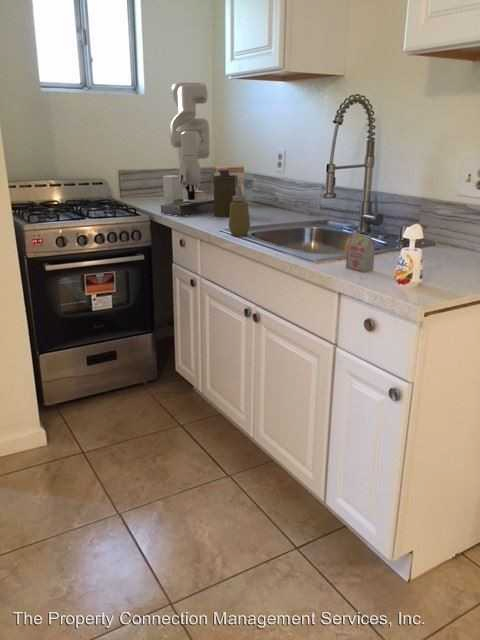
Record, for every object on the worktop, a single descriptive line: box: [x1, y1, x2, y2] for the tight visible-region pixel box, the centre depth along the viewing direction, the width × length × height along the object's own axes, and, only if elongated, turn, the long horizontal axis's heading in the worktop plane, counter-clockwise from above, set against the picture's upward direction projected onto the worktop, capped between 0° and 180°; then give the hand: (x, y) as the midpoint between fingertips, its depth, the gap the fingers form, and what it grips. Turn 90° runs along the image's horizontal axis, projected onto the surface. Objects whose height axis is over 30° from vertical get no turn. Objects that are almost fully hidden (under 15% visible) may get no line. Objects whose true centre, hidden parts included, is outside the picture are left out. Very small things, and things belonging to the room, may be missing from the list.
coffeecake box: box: [213, 165, 245, 196], centre depth 280 cm, size 15×7×20 cm, turn 92°
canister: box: [212, 170, 238, 218], centre depth 247 cm, size 11×10×20 cm
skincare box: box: [162, 175, 183, 205], centre depth 274 cm, size 8×7×16 cm
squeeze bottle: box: [228, 186, 251, 237], centre depth 201 cm, size 8×8×18 cm
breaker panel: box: [160, 199, 214, 217], centre depth 260 cm, size 24×14×5 cm, turn 137°
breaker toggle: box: [191, 190, 207, 202], centre depth 262 cm, size 4×6×5 cm
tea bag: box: [345, 232, 375, 274], centre depth 153 cm, size 4×7×10 cm, turn 36°
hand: (191, 199), depth 259 cm, fingers closed
